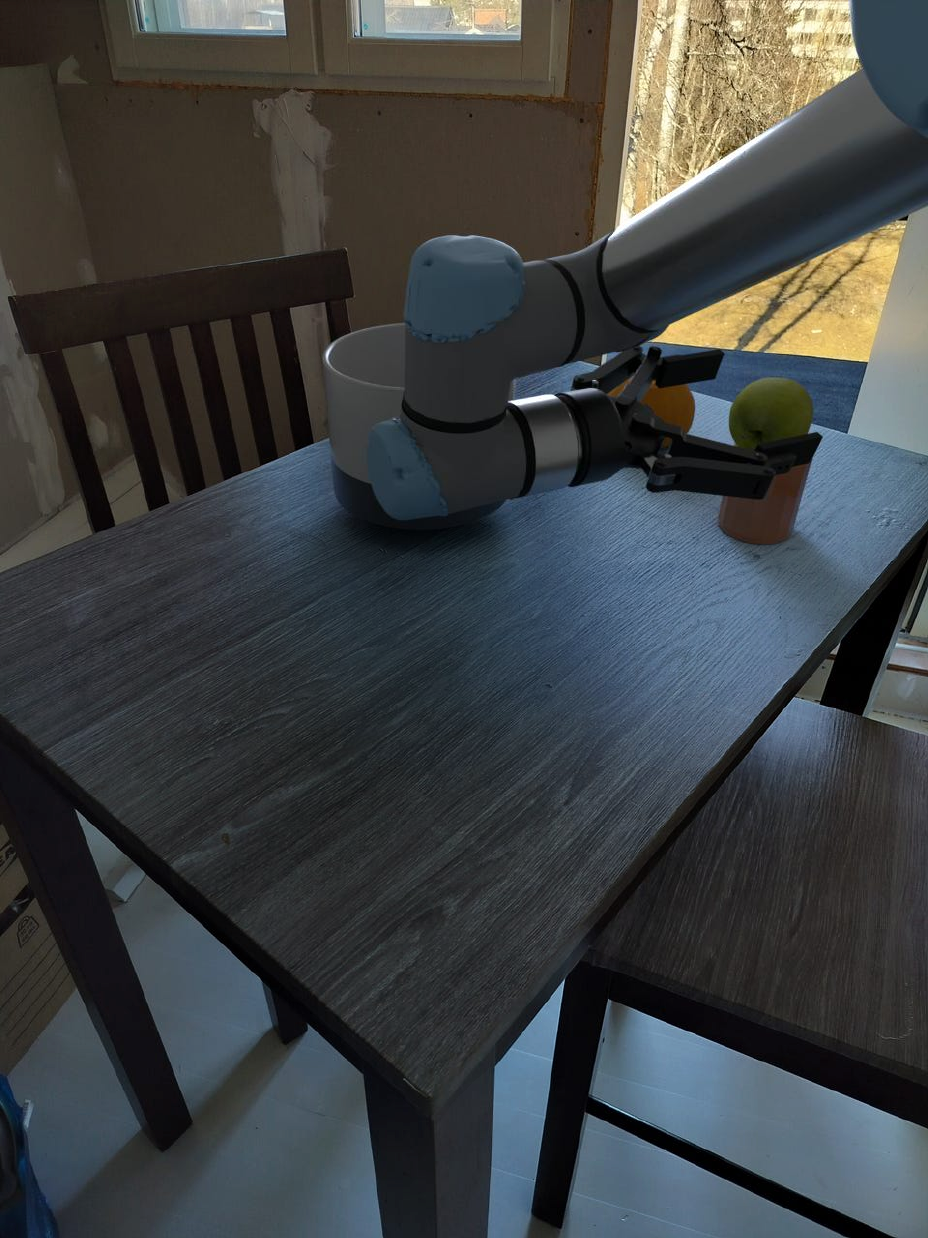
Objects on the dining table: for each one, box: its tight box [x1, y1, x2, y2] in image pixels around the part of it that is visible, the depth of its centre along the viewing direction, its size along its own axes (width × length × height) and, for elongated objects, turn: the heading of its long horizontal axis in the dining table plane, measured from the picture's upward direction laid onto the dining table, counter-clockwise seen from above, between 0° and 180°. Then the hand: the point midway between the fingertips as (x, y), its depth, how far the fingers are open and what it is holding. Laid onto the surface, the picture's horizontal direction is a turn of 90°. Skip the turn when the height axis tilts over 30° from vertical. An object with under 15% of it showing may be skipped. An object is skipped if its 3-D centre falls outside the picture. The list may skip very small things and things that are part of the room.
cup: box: [717, 441, 813, 545], centre depth 90 cm, size 8×8×9 cm
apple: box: [728, 376, 814, 451], centre depth 85 cm, size 8×9×8 cm
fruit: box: [607, 375, 696, 449], centre depth 108 cm, size 12×12×10 cm
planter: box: [321, 322, 517, 531], centre depth 90 cm, size 19×19×18 cm
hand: (763, 403), depth 76 cm, fingers open, 13 cm apart
